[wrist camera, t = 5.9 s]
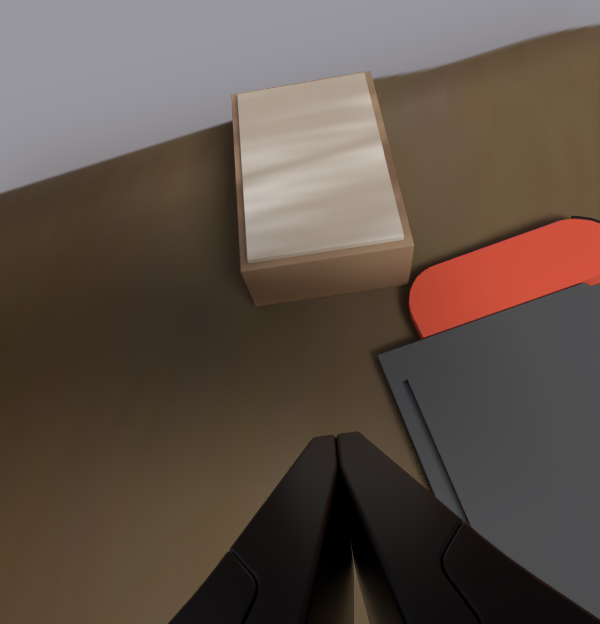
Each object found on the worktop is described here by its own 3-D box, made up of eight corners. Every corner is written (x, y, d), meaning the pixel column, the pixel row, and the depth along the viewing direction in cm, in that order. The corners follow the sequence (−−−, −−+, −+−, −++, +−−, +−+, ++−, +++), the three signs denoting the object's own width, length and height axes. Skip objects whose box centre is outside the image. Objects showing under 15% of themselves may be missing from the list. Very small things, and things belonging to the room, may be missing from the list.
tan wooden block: (415, 242, 16) (370, 66, 20) (239, 269, 17) (230, 90, 21) (407, 288, 19) (369, 126, 23) (257, 310, 20) (246, 146, 24)
